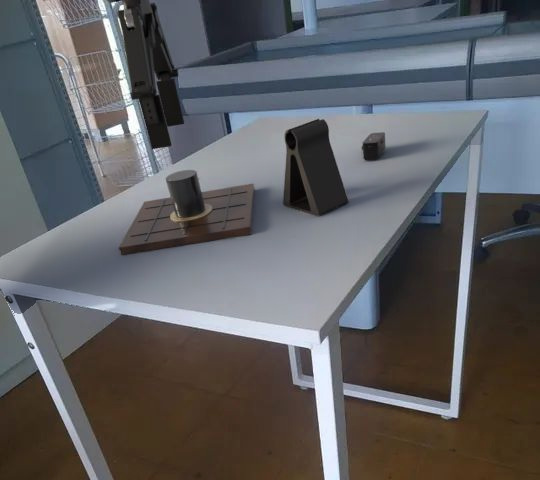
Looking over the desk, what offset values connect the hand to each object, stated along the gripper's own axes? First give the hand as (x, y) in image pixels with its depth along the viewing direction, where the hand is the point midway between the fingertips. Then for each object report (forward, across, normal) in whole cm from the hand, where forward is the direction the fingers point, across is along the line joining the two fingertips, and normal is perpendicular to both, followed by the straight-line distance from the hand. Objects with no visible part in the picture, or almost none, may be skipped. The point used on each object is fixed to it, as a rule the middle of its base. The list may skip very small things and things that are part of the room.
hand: (169, 135), depth 82 cm
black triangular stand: (+13, -2, -20) cm, 25 cm away
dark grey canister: (+12, 0, 0) cm, 12 cm away
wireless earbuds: (+13, +19, -32) cm, 40 cm away
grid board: (+13, 0, 0) cm, 13 cm away
